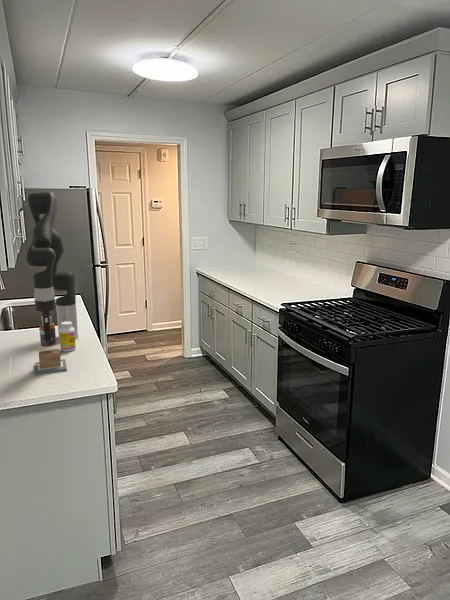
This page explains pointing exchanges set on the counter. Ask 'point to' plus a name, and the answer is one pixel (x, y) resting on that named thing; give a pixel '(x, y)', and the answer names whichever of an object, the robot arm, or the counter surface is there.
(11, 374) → the counter surface
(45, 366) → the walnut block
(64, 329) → the supplement bottle
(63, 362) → the mat
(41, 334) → the supplement bottle
